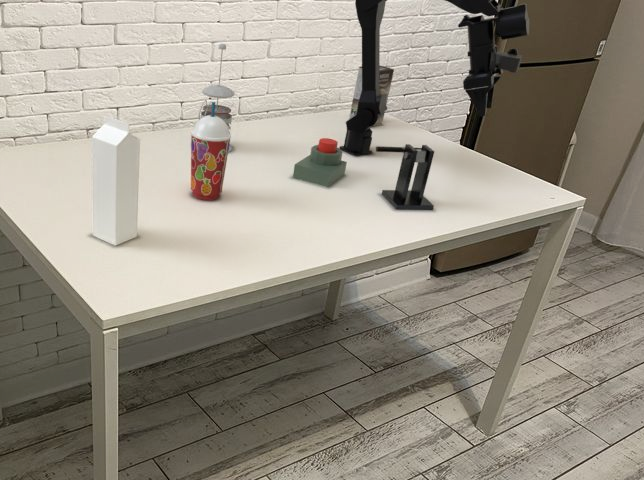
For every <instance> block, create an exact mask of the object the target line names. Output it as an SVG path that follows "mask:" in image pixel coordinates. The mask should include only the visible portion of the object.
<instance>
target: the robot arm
mask: <svg viewBox="0 0 644 480" xmlns="http://www.w3.org/2000/svg"><path fill="white" fill-rule="evenodd" d="M444 1H445V2H448V3H449V4H452V5H454V6H455V7H456V8H459V9H460V10H462V11H465V12H467V13H468V14H465V15H463V18H462V20H461V21H460V22H459V23H458V24H457V27H458V28H464V27H467V40H468V42H467V43H468V51H467V57H469V70H468V75H467V76H466V77H465V78H464V80H463V81H462V84H463V85H462V87H463V90H464V91H465V93H466V94H467V95H468V97H469V99H470V101H471V103H472V104H473V106H474V108H475V110H476V111H477V113H478V115H479V117H485V116H486V112H487V110H488V109H492V107H493V100H494V94H495V89H496V84H497V83H498V81H499V80H500V78H502V74H503V73H504V71H508V72H509V73H518V71H519V70H520V66H521V61H522V58H523V55H522V54H519V49H518V48H514V47H511V48H510V49H509V50H508V52H506V51H499V47H498V46H497V44H496V43H495V42H496V41H495V35H496V37H499V38H500V39H501V41H507V40H511V39H512V40H513V39H517V38H522V37H528V36H529V34H530V17H529V14H528V7H527V3H521V4H518V5H515V6H511V7H505V8H504V7H503V6H502V5H501V4H500V3H499V2H498V1H497V0H444ZM354 2H355V4H354V5H355V11H356V17H357V20H358V23H359V26H360V30H361V67H362V91H361V95H360V98H359V102H358V107H357V113H356V115H355V116H354V117H352V118H351V119H349V118H348V120H346V121H345V125H346V133H345V138H344V144H343V145H340V146H339V148H338V149H340V150H342V151H344V152H346V153H348V154H350V155H352V156H356V157H358V156H364V155H370V154H373V150H371V145H372V141H373V137H372V135H373V130H372V128H373V127H374V126H373V125H374V124H376V123H377V122H378V121H379V120H381V118H382V117H383V116H384V117H385V113H386V112H387V110H388V107H387V106H388V105H387V104H386V100H387V94H382V93H381V90H380V87H379V65H380V59H381V58H380V55H381V53H380V52H381V51H380V49H381V47H380V44H381V43H380V42H381V41H380V40H381V39H380V38H381V36H380V35H381V25H382V22H383V18H384V14H385V8H386V3H387V2H388V0H355V1H354ZM469 14H471V15H475V16H470V15H469ZM479 14H480V15H479ZM485 16H486V17H489V18H485ZM494 22H495V23H494ZM494 24H495V26H494ZM496 74H498V75H496ZM387 101H388V100H387Z"/></svg>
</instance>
